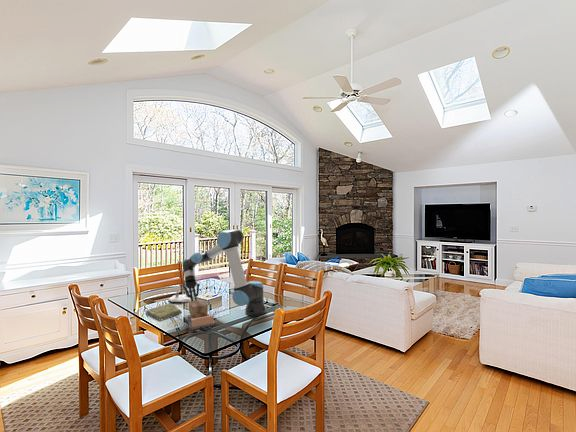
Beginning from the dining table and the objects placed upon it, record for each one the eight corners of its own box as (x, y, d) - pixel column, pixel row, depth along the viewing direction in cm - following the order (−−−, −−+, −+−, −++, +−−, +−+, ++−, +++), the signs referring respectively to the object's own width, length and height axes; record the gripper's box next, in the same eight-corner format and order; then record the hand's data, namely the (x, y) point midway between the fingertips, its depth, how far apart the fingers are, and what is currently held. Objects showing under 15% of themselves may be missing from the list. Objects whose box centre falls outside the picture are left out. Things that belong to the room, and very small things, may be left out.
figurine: (169, 304, 246) (171, 283, 246) (167, 297, 263) (169, 278, 262) (195, 303, 254) (197, 283, 254) (192, 296, 271) (193, 277, 271)
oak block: (205, 312, 227) (205, 298, 227) (210, 318, 217) (209, 304, 216) (186, 316, 221) (186, 302, 220) (190, 322, 211) (189, 307, 210)
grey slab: (206, 313, 230) (206, 305, 229) (215, 324, 211) (214, 315, 210) (184, 317, 222) (184, 308, 222) (190, 329, 203) (190, 320, 202)
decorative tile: (160, 321, 217) (159, 316, 217) (146, 313, 230) (146, 309, 230) (184, 313, 232) (183, 308, 232) (169, 306, 245) (169, 302, 244)
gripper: (197, 278, 246) (203, 306, 233) (180, 280, 240) (185, 309, 227) (199, 273, 241) (204, 301, 228) (181, 275, 235) (186, 304, 222)
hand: (194, 305), depth 228 cm, fingers closed
